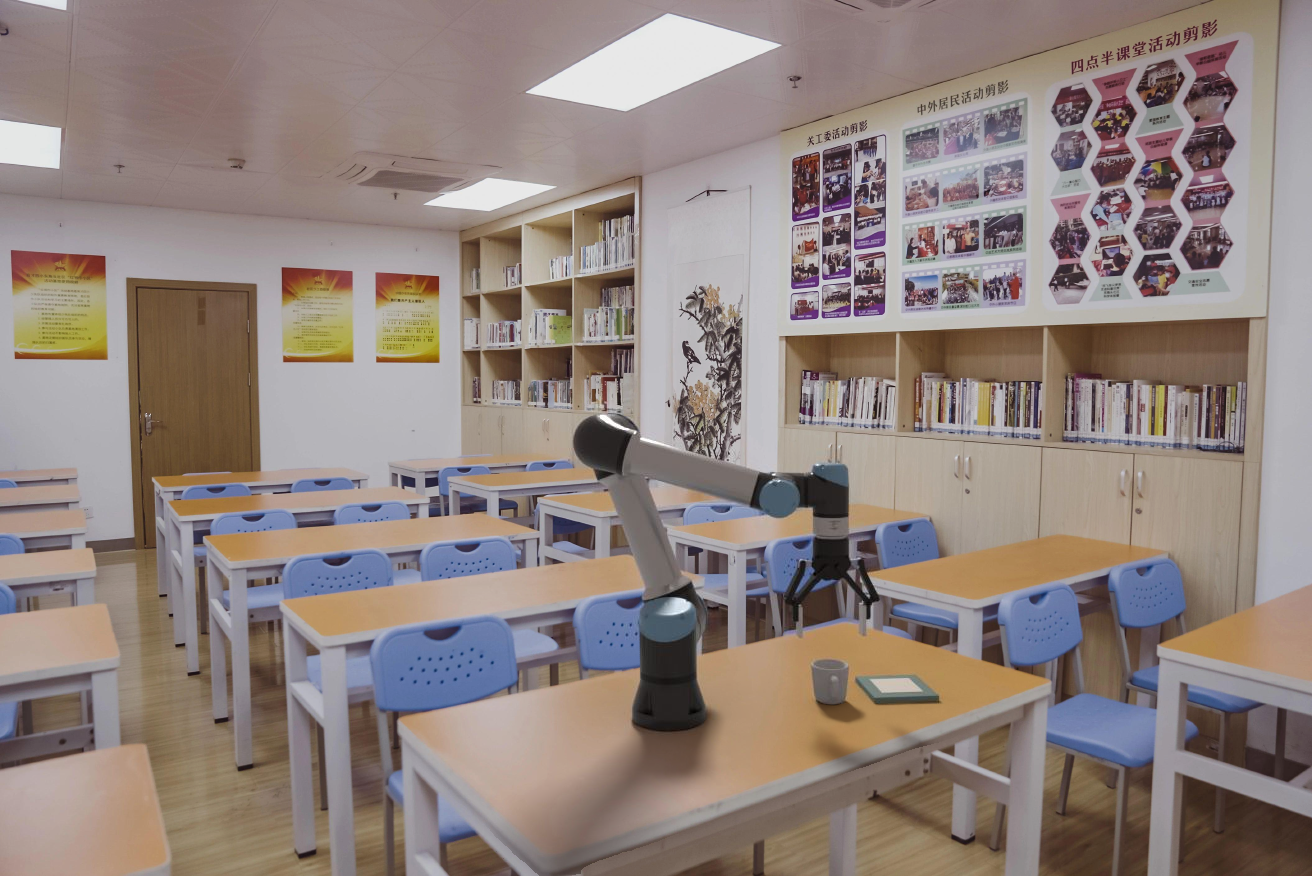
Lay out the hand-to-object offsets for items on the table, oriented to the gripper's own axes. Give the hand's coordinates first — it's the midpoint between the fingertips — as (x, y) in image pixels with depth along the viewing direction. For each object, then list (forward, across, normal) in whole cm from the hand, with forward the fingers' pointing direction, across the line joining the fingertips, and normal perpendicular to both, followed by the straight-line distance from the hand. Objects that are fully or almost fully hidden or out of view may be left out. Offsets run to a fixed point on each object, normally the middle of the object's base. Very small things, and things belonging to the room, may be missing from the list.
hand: (831, 635), depth 182 cm
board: (+14, +16, +6) cm, 22 cm away
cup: (+15, 0, 0) cm, 15 cm away
